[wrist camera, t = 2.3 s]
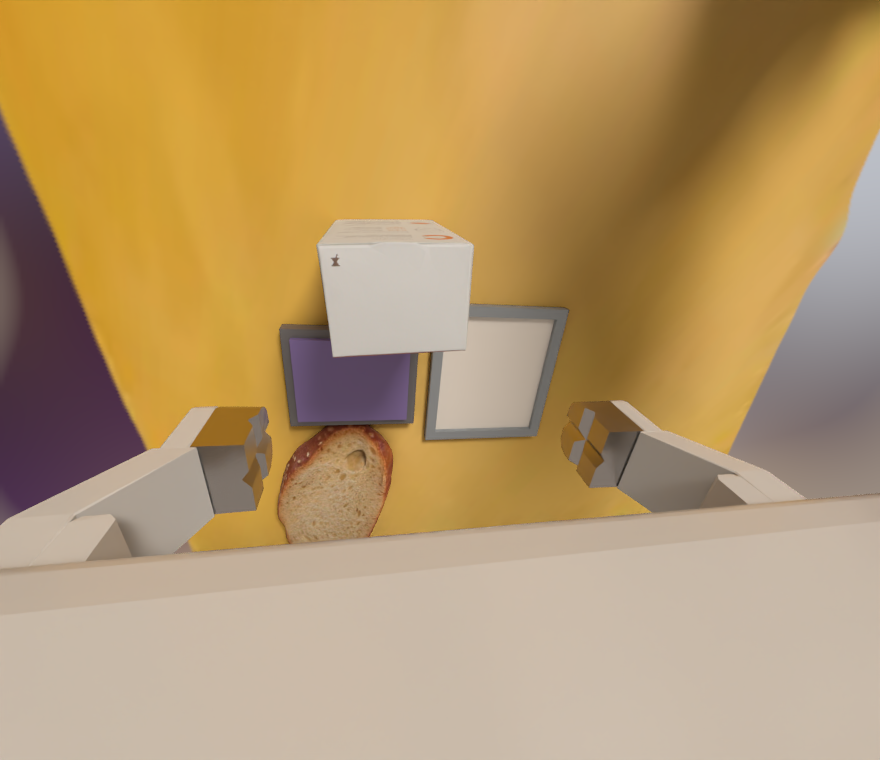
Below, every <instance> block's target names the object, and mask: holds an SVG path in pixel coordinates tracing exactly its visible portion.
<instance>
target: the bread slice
mask: <svg viewBox="0 0 880 760" xmlns="http://www.w3.org/2000/svg"><path fill="white" fill-rule="evenodd" d="M392 468H393V454H392V450H391V448H390V446H389V445H388V443H387V442H386V440H385V439H384V438H383V437H382V435H381V434H379V433H378V432H377V431H375V430H374V429H373V428H372V427H371V426H370V425H369V424H362V425H327V426H326V427H325V428H324V429H322V430H321V431H320V432H319V433H318V434H316V435H315V436H314V437H313V438H311V439H310V440H308V441H307V442H305V443H304V444H302V445H301V446H300V447H299V448H297V450H296V451H295V453H294V454H293V456H292V458H291V459H290V461H289V462H288V463H287V465H286V469H285V472H284V475H283V480H282V484H281V489H280V494H279V500H278V517H279V519H280V521H281V522H282V523H283V524H284V526H285V528H286V536H287V539H288V541H289V543H290V544H294V543H306V542H318V541H329V540H341V539H353V538H364V537H369V536H370V534H371V532H372V530H373V528H374V526H375V524H376V522H377V520H378V517H379V515H380V513H381V510H382V508H383V505H384V502H385V500H386V497H387V494H388V491H389V488H390V484H391V475H392Z"/></svg>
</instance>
